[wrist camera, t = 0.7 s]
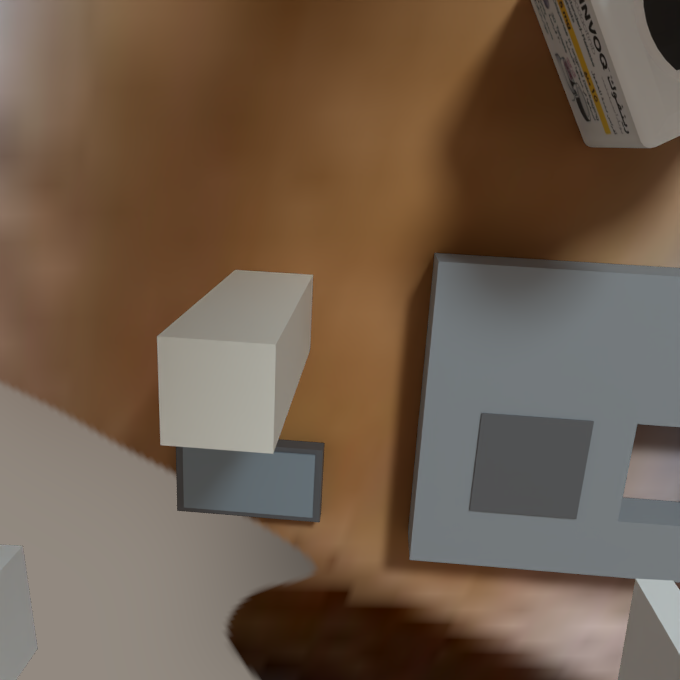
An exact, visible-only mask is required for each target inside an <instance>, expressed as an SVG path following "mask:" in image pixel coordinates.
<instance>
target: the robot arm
mask: <svg viewBox="0 0 680 680" xmlns="http://www.w3.org/2000/svg"><path fill="white" fill-rule="evenodd" d="M37 649H38V647H37V640H36V634H35V626H34V620H33V613H32V606H31V599H30V592H29V585H28V578H27V571H26V564H25V557H24V551H23V546H18V545H0V680H17V678H18V677H19V675H20V674H21V672H22V671H23V670H24V668H25V667H26V665H27V664H28V662H29V661H30V659H31V658H32V656H33V655H34V654H35V652H36V651H37ZM618 680H680V590H679V588H678V587H677V585H676V584H675V582H674V581H672V580H653V579H635V584H634V590H633V596H632V601H631V607H630V613H629V619H628V624H627V630H626V636H625V642H624V647H623V653H622V659H621V665H620V671H619V676H618Z"/></svg>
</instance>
